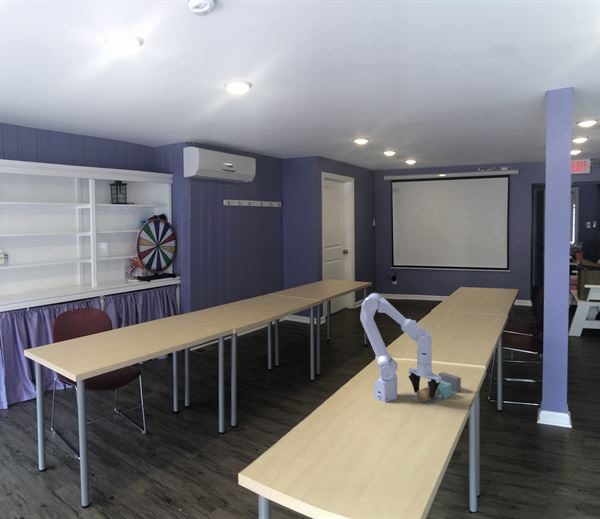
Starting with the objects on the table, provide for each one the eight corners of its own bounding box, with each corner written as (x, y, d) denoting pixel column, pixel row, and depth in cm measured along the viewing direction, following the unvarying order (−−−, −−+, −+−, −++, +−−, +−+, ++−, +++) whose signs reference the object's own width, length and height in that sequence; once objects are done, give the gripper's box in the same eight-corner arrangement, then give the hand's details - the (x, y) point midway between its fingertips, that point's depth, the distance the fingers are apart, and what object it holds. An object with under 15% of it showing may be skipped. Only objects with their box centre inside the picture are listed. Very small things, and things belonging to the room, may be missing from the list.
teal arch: (443, 398, 184) (444, 386, 184) (427, 392, 191) (427, 381, 190) (451, 395, 187) (451, 383, 187) (434, 390, 194) (435, 378, 193)
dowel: (426, 403, 180) (426, 392, 179) (416, 399, 184) (416, 388, 183) (438, 398, 185) (438, 387, 184) (428, 394, 189) (428, 383, 188)
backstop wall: (456, 394, 191) (456, 379, 190) (438, 387, 198) (438, 373, 197) (460, 392, 192) (460, 377, 192) (442, 386, 200) (442, 372, 199)
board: (427, 407, 178) (427, 405, 178) (407, 399, 186) (407, 397, 186) (457, 394, 190) (457, 393, 190) (437, 387, 198) (437, 386, 198)
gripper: (445, 364, 178) (445, 397, 179) (416, 356, 190) (416, 387, 191) (434, 368, 174) (434, 402, 175) (405, 359, 185) (405, 391, 187)
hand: (424, 394), depth 183 cm, fingers open, 7 cm apart
